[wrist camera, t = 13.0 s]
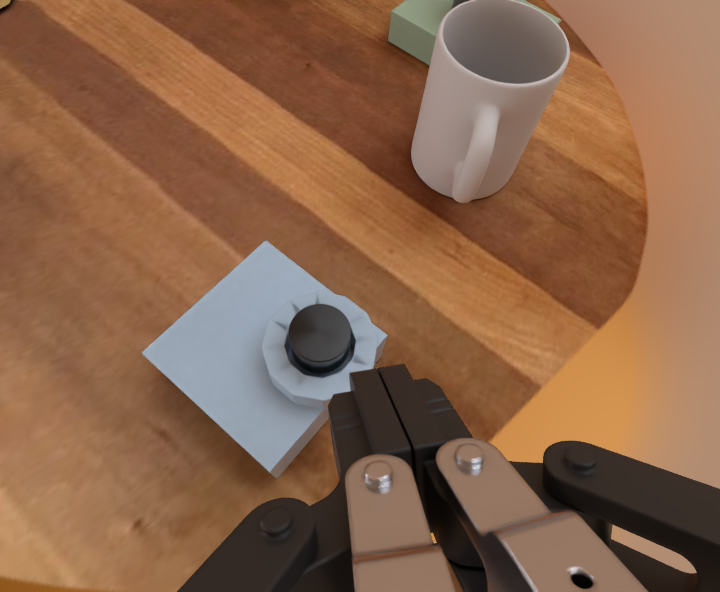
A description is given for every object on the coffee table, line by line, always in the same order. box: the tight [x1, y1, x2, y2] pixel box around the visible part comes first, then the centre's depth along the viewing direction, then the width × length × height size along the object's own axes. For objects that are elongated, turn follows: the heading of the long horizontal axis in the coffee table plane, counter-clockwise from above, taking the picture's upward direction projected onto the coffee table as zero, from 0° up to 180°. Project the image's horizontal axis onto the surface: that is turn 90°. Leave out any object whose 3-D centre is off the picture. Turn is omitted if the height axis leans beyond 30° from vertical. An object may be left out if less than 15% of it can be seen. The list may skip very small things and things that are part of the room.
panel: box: [388, 0, 561, 66], centre depth 45 cm, size 12×10×3 cm
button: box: [288, 304, 351, 374], centre depth 26 cm, size 3×3×2 cm
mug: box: [411, 0, 570, 203], centre depth 34 cm, size 12×8×11 cm
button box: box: [142, 241, 388, 479], centre depth 29 cm, size 11×10×6 cm
